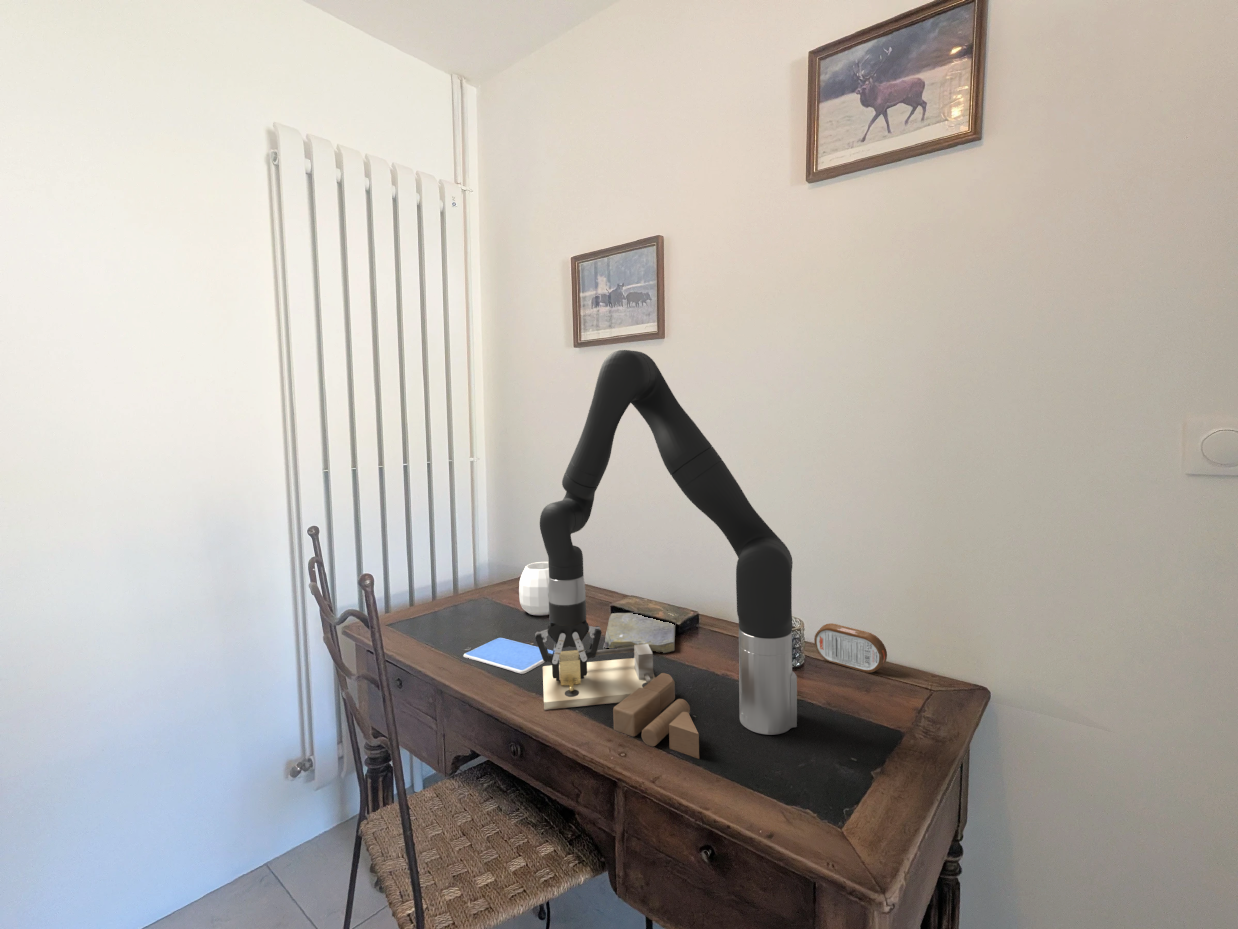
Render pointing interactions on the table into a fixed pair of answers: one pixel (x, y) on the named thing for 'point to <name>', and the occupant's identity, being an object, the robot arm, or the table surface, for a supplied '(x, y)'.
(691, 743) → the wooden block set
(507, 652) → the tablet computer
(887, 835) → the table surface
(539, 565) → the white faceted vase
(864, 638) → the tin
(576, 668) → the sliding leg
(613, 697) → the cream panel
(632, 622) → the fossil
